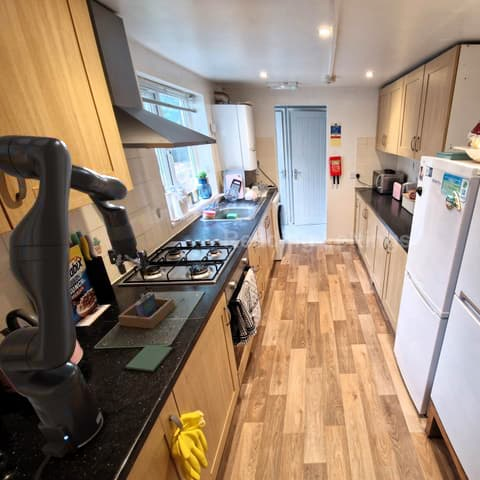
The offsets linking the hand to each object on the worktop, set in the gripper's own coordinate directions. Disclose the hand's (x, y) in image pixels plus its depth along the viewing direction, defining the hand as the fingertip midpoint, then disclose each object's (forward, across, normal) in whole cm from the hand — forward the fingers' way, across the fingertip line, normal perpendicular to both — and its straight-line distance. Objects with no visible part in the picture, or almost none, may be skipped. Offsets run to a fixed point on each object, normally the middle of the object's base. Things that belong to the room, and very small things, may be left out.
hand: (133, 274), depth 101 cm
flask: (+22, -2, +3) cm, 23 cm away
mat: (+22, +15, -18) cm, 32 cm away
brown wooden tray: (+22, -2, +3) cm, 23 cm away
